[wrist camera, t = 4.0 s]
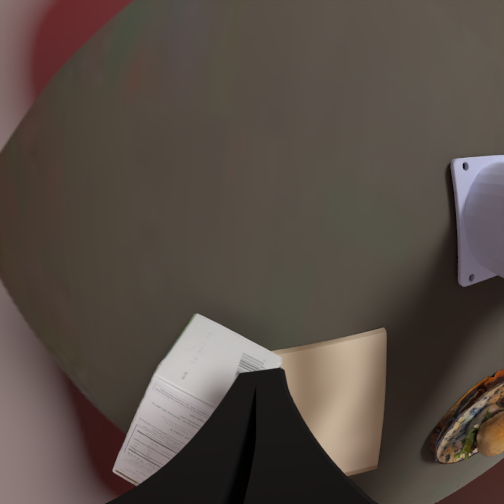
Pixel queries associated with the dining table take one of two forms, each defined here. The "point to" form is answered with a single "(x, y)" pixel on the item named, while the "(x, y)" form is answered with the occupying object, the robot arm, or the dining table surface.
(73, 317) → the dining table surface
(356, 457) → the beige folded napkin
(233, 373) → the syrup box
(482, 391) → the burger
